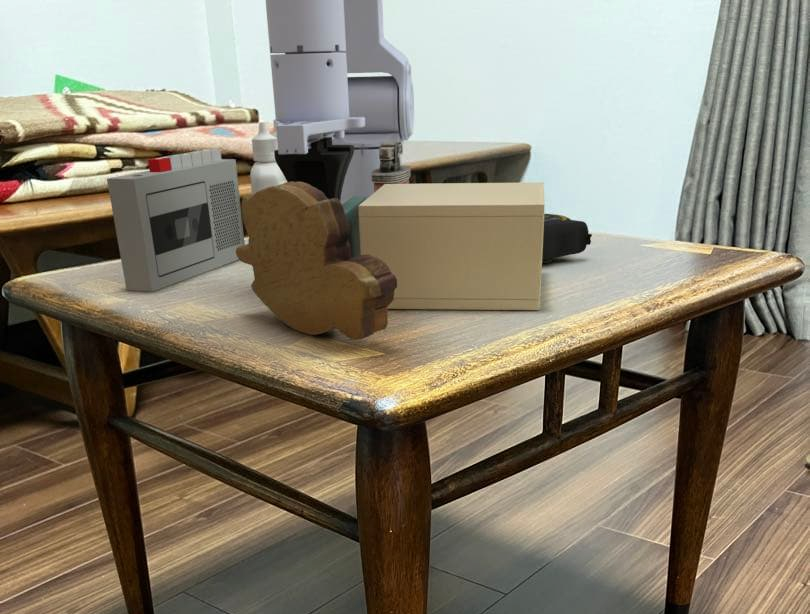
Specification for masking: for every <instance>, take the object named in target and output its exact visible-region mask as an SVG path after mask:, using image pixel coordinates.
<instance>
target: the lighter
mask: <svg viewBox="0 0 810 614" xmlns="http://www.w3.org/2000/svg"><path fill="white" fill-rule="evenodd" d="M403 144H404V143H401V141H391V142H381V145H380V148H379V160H380V168H378V169H376V170H374V171H372V173H371V176H372V182H374V193H375V192H376V191H377V190H378V189H379V188H381V187H382V186H383V185H384V184H410V177H411V175H412V174H411V173H412V172H411V167H412V166H411V165H405V164H402V165H400V155H401V156H402V155H403V154H404V148H403V147H404V146H403Z"/></svg>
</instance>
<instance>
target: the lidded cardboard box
mask: <svg viewBox="0 0 810 614" xmlns="http://www.w3.org/2000/svg"><path fill="white" fill-rule="evenodd" d="M545 202H546V200H545V183H544V182H457V183H456V182H453V183H452V182H451V183H448V182H447V183H445V182H443V183H440V182H439V183H409V184H384V185H383V186H382V187H381V188H379V189H378V190H377V191H376V192H375V193H373V194H372V195H371V196H370V197H368V198H367V199H366V200H365V201H364V202H362V203H361V204H360V205H359V206H358V209H359V229H360V250H361V255H371V256H373V257H377V258H379V259H380V260H382V261H383V262H384V263H385V264H387V265H388V267H389V269H390V270H391V272H392V274H394V275H395V277H396V279H397V288H396V289H395V292H394V299H393V301H392V302H391V303H390V304H389V305H388V308H387V309H388V310H451V311H452V310H455V311H456V310H460V311H461V310H462V311H465V310H466V311H467V310H468V311H469V310H471V311H473V310H474V311H540V309H541V291H542V290H541V288H542V287H541V286H542V270H543V269H542V268H543V262H542V250H543V230H544V214H545V208H546V203H545Z"/></svg>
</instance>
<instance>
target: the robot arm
mask: <svg viewBox="0 0 810 614" xmlns="http://www.w3.org/2000/svg"><path fill="white" fill-rule="evenodd" d="M265 11H266V12H265V13H266V23H267V35H268V46H269V53H270V54H269V57H270V59H269V60H270V68H271V80H272V90H273V91H272V92H273V104H274V114H275V116H274V117H275V119H273V121H272V122H273V130H274V132H275V133H276V138H277V145H278V150H275V151H274V155H275V160H276V163H277V165H278V166H279V168H280V170H281V171H282V173H283V175H284V177H285V178H286V183H288V182H292V181H293V182H304V183H307V184H309V185H311V186H313V187H315V188H317V189H318V190H320V191H322V192H323V193H324V194H325V196H326V197H327V198H328V199H332V198H337V199H339V201H340V202H341V204H344V203H345V202H346V201H348V200H349V199H350V198H352V197H353V196H366V199H367V198H368V197H370V196H371V195H372V194H373V193H374V182H372V176H371V173H372V171H374V170H376V169H378V168H380V160H379V148H380V145H381V142H391V141H401V143H403V144H404V142H405V141H409V139H410V137H411V136H412V135H413V134H414V129H415V128H414V126H415V96H414V95H415V94H414V93H415V92H414V85H413V84H414V83H413V80H412V79H413V78H412V66H411V63H410V61H409V58H408V57H407V56H406V54H404V53H403V52H402V51H400V50H399V49H398V48H397V47H396V46H394V45H393V44H391V42H389V41H388V40H387V39H386V38H385V35H384V33H385V32H384V12H383V11H384V10H383V0H265ZM371 73H384V74H389V75H377V76H376V75H375V76H374V75H373V76H348V74H371ZM402 163H403V162H402V155H400V165H403V164H402Z"/></svg>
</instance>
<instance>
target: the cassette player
mask: <svg viewBox="0 0 810 614" xmlns="http://www.w3.org/2000/svg"><path fill="white" fill-rule="evenodd" d="M147 163H148V169H149V170H145V171H140V172H136V173H129V174H125V175H119V176H114V177H108V178H106V182H107V183H106V184H107V187H108V193H109V194H108V195H109V198H110V205H111V210H112V216H113V222H114V227H115V233H116V234H115V235H116V239H117V245H118V250H119V251H118V252H119V256H120V261H121V262H120V263H121V267H122V273H123V279H124V282H125V283H124V284H125V289H126V291H136V292H148V293H153V292H155V291H158V290H161V289H163V288H166V287H169V286H172V285H175V284H177V283H179V282H182V281H186V280H188V279H191V278H193V277H196V276H199V275H201V274H204V273H207V272H209V271H212V270H214V269H217V268H220V267H223V266H225V265H228V264H230V263H231V264H232V263H234V262H236V261H238V260H239V258H238V257H237V255H236V249H237V248H238V247H240V246H243V245H246V243H245V234H244V222H243V218H242V204H241V196H240V188H239V179H238V170H237V161H236V158H235V159H233V158H228V159H227V158H222V153H221V149H220V148H207V149H202V150H197V151H190V152H183V153H178V154H173V155H166V156H160V157H155V158H148V159H147ZM239 261H240V260H239Z"/></svg>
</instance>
